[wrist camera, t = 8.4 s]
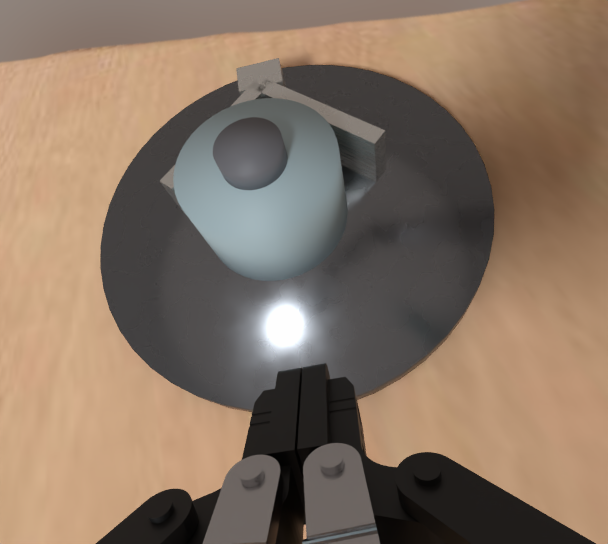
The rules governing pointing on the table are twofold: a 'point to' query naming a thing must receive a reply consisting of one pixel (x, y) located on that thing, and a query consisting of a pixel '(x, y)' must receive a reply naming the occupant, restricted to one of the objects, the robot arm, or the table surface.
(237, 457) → the table surface
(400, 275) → the turntable
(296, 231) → the cover
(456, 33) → the table surface
